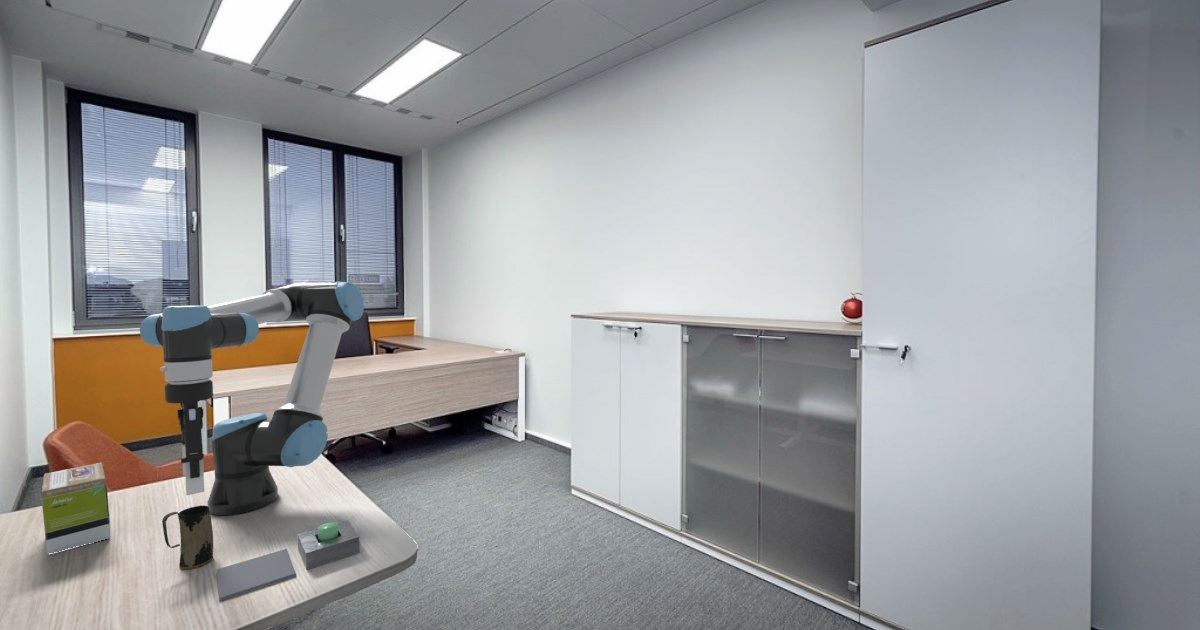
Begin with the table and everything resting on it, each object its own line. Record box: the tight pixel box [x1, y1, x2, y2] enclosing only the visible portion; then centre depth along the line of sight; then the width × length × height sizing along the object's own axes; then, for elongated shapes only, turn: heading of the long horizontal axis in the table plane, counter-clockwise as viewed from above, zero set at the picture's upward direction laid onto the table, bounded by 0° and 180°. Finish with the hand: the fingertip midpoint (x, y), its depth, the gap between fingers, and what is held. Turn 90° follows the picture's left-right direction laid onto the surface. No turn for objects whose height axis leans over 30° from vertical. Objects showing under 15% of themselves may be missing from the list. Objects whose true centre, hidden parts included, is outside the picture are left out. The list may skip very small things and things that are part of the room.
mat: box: [216, 548, 297, 602], centre depth 98 cm, size 12×12×1 cm
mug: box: [161, 505, 214, 571], centre depth 101 cm, size 8×6×12 cm
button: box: [317, 521, 338, 543], centre depth 106 cm, size 4×4×3 cm
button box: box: [297, 520, 361, 571], centre depth 106 cm, size 10×10×4 cm
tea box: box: [40, 462, 111, 555], centre depth 113 cm, size 15×10×15 cm, turn 47°
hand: (193, 483), depth 101 cm, fingers open, 13 cm apart
